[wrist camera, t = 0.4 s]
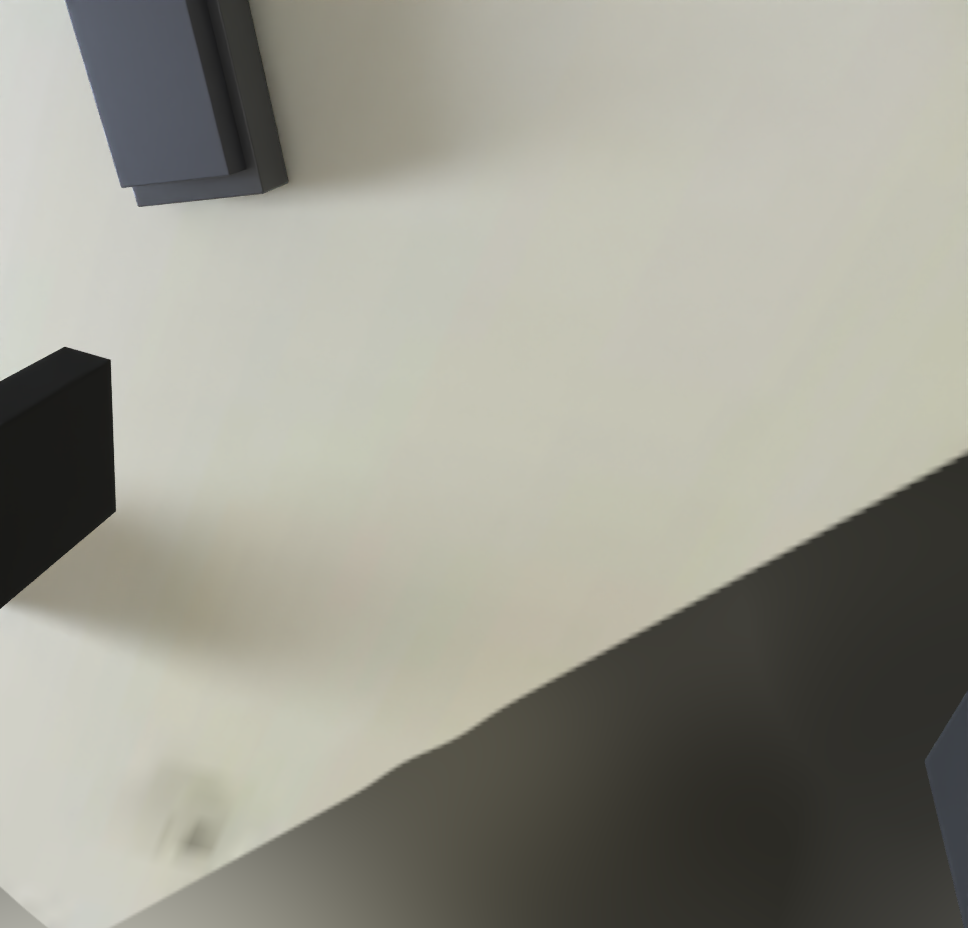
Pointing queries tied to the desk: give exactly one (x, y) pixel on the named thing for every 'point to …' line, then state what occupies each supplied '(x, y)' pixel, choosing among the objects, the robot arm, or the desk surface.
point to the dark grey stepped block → (180, 97)
